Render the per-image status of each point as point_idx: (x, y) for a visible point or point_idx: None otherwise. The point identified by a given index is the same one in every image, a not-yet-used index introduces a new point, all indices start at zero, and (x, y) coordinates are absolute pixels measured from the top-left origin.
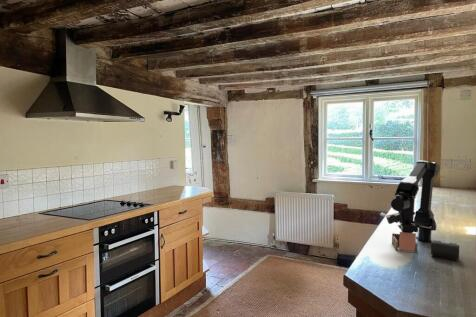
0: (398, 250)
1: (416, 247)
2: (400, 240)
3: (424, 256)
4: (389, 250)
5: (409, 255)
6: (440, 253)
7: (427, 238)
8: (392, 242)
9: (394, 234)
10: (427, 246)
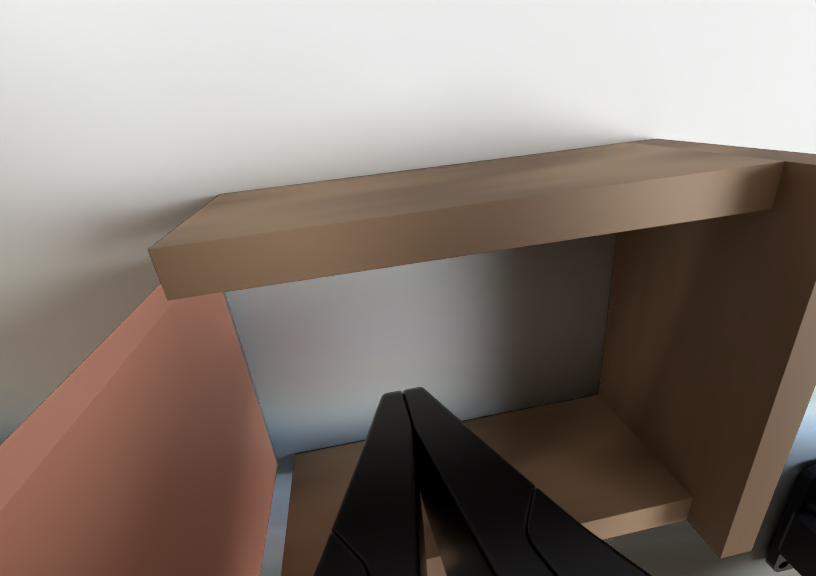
0: None
1: (292, 531)
2: (82, 394)
3: None
4: (116, 59)
5: None
6: None
7: (814, 569)
8: (619, 149)
9: (813, 221)
10: None
